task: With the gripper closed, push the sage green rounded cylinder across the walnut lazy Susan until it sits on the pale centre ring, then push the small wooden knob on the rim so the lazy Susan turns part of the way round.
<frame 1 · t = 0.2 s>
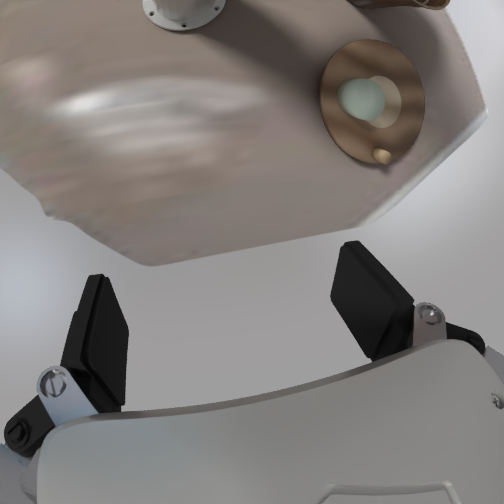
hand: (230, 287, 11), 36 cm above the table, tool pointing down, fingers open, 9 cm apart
sage green rounded cylinder: (354, 97, 39), point 3 cm above the table, touching lazy susan
lazy susan: (384, 102, 40), point 4 cm above the table, hinge at 0.0°, touching sage green rounded cylinder
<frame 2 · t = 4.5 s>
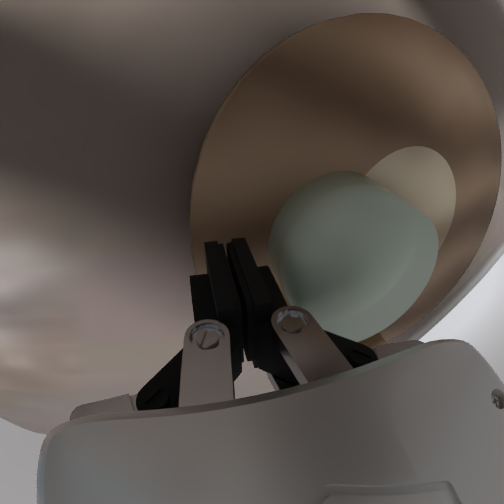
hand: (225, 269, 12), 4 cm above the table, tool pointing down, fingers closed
sage green rounded cylinder: (334, 237, 14), point 3 cm above the table, touching gripper, lazy susan
lazy susan: (413, 234, 14), point 4 cm above the table, hinge at 0.0°, touching sage green rounded cylinder
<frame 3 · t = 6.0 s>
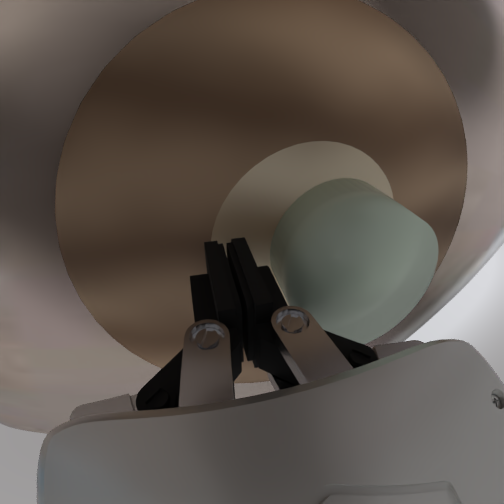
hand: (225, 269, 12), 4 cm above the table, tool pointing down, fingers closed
sage green rounded cylinder: (335, 243, 14), point 3 cm above the table, touching lazy susan
lazy susan: (320, 251, 13), point 4 cm above the table, hinge at -0.1°, touching sage green rounded cylinder
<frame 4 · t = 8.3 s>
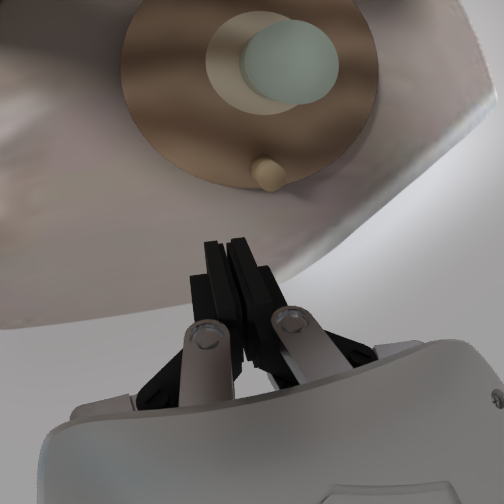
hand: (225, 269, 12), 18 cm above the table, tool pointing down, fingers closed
sage green rounded cylinder: (279, 64, 20), point 3 cm above the table, touching lazy susan
lazy susan: (267, 60, 19), point 4 cm above the table, hinge at -0.1°, touching sage green rounded cylinder
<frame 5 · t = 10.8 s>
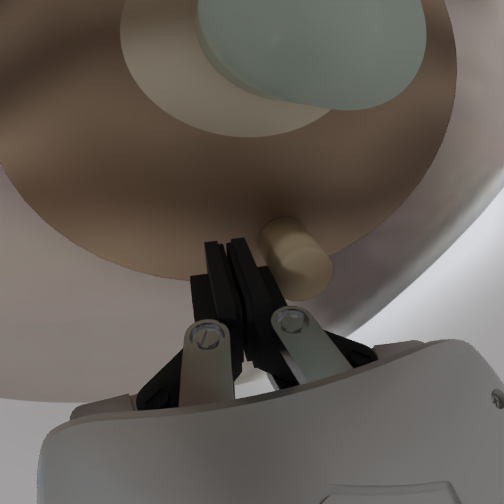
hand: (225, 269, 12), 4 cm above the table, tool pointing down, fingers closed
sage green rounded cylinder: (286, 22, 8), point 3 cm above the table, touching lazy susan
lazy susan: (259, 14, 7), point 4 cm above the table, hinge at 7.6°, touching gripper, sage green rounded cylinder
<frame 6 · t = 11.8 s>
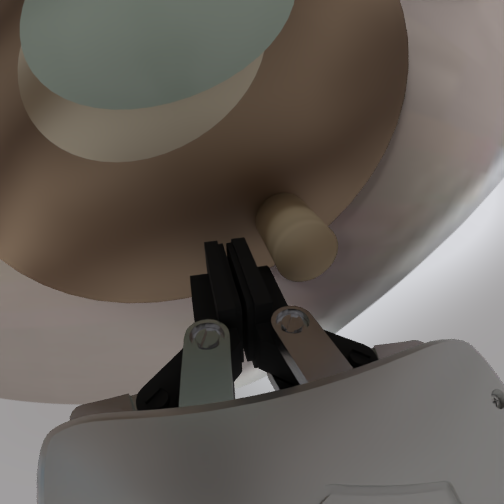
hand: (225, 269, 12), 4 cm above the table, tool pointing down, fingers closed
sage green rounded cylinder: (160, 17, 7), point 3 cm above the table, touching lazy susan
lazy susan: (126, 31, 6), point 4 cm above the table, hinge at 35.3°, touching gripper, sage green rounded cylinder
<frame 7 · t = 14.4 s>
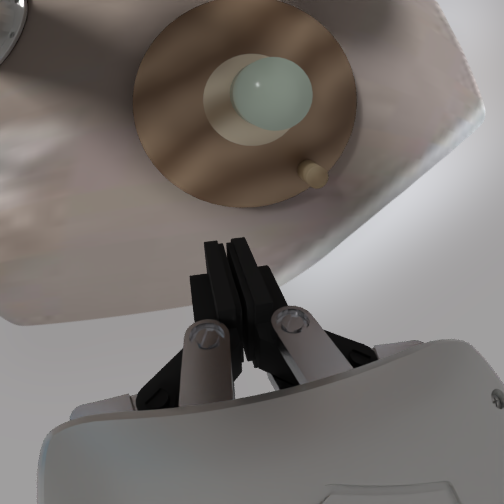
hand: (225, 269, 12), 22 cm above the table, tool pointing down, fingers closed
sage green rounded cylinder: (264, 93, 25), point 3 cm above the table, touching lazy susan
lazy susan: (255, 99, 24), point 4 cm above the table, hinge at 38.2°, touching sage green rounded cylinder
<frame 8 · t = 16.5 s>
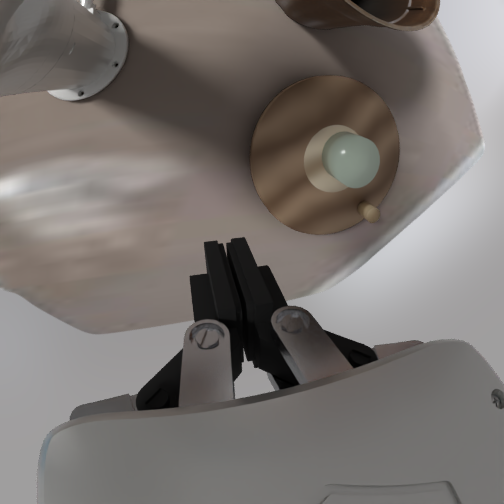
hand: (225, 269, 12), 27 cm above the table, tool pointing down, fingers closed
sage green rounded cylinder: (343, 155, 36), point 3 cm above the table, touching lazy susan
lazy susan: (339, 160, 36), point 4 cm above the table, hinge at 38.2°, touching sage green rounded cylinder
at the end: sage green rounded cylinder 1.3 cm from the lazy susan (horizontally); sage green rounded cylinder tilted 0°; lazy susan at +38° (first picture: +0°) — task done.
